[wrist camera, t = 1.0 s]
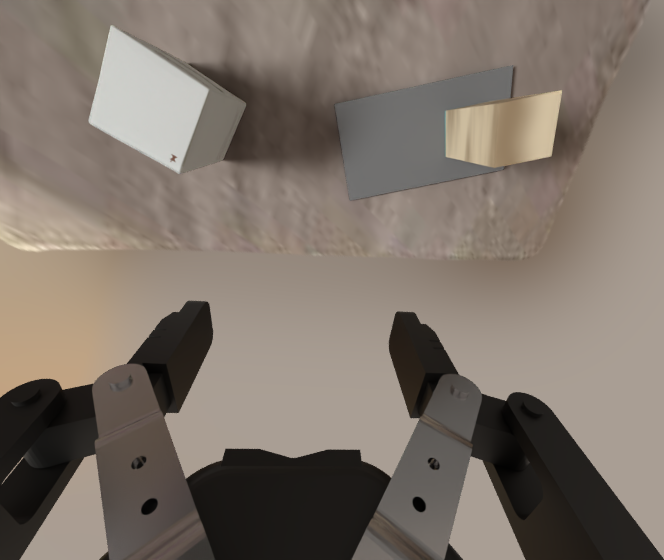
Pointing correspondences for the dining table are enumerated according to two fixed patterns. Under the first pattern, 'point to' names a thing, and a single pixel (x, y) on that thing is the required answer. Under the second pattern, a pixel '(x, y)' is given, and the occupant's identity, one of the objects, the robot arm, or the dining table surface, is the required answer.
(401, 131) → the mat
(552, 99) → the block
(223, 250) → the dining table surface
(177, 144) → the supplement box
